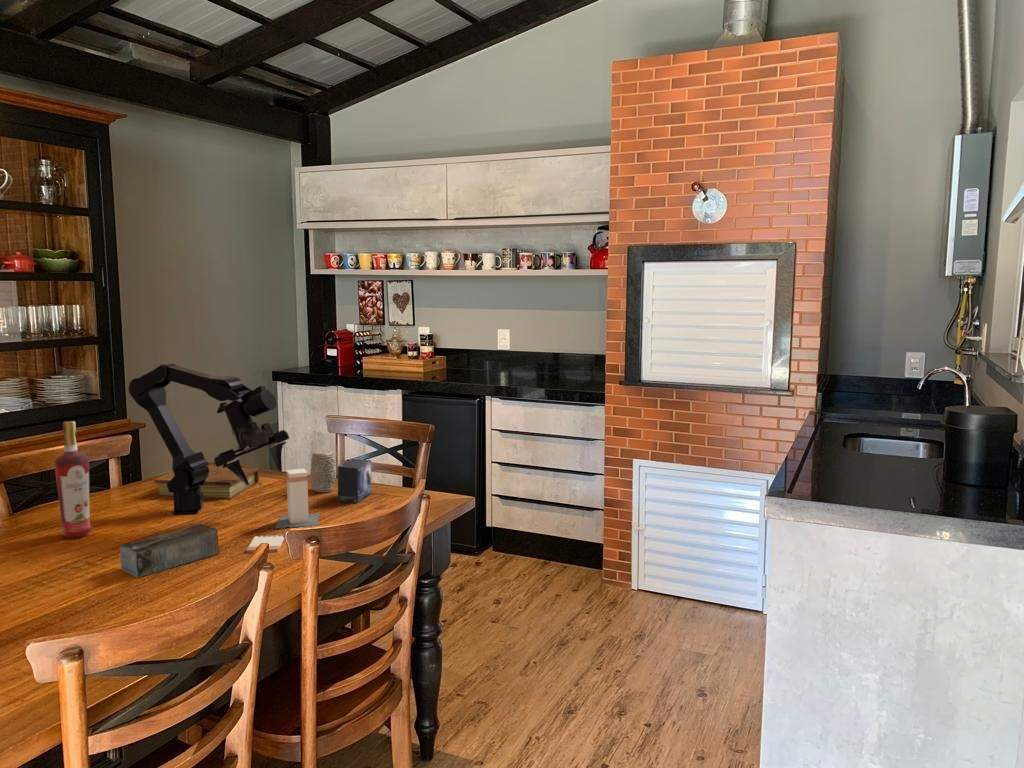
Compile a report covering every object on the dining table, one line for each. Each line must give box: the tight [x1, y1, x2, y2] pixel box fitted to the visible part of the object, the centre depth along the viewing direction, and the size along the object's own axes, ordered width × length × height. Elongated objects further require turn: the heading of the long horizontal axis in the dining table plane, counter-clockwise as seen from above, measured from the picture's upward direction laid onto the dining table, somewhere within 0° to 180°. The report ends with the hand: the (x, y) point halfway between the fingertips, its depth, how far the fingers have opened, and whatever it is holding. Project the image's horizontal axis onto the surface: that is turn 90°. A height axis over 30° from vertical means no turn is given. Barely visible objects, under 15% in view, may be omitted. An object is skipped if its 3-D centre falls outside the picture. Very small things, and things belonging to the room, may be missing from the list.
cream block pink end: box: [245, 534, 285, 554], centre depth 180 cm, size 10×7×1 cm
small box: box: [337, 458, 372, 504], centre depth 220 cm, size 11×6×10 cm, turn 168°
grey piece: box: [119, 523, 220, 579], centre depth 168 cm, size 8×19×7 cm, turn 142°
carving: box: [309, 449, 337, 493], centre depth 227 cm, size 6×8×12 cm
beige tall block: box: [286, 468, 309, 524], centre depth 197 cm, size 5×5×13 cm
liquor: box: [53, 420, 93, 539], centre depth 184 cm, size 7×7×28 cm
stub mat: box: [274, 513, 321, 529], centre depth 198 cm, size 10×10×1 cm
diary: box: [153, 465, 260, 500], centre depth 228 cm, size 23×19×6 cm
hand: (264, 478), depth 199 cm, fingers open, 9 cm apart
